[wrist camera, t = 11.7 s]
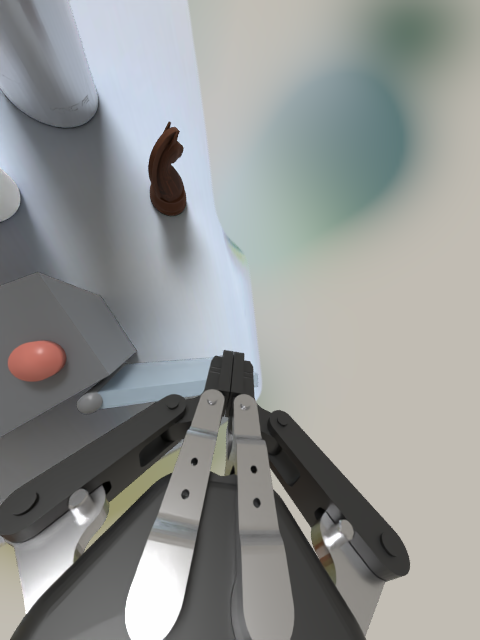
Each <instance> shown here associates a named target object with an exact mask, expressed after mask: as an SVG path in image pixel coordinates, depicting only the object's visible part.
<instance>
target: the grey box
mask: <svg viewBox="0 0 480 640" xmlns="http://www.w3.org/2000/svg"><path fill="white" fill-rule="evenodd" d="M135 352H136V349H135V348H134V346H133V345H132V343H131V341H130V340H129V338H128V337H127V335H126V334H125V332H124V331H123V329H122V328H121V326H120V325H119V323H118V322H117V320H116V319H115V317H114V316H113V314H112V312H111V311H110V309H109V308H108V306H107V305H106V303H105V302H104V300H103V299H102V297H101V296H99V295H97V294H94V293H92V292H89V291H86V290H84V289H81V288H79V287H76V286H73V285H71V284H68V283H65V282H63V281H60V280H58V279H55V278H52V277H50V276H47V275H45V274H42V273H39V272H36V273H33V274H30V275H28V276H25V277H22V278H20V279H17V280H14V281H11V282H9V283H6V284H3V285H1V286H0V437H2V436H3V435H5V434H7V433H9V432H11V431H12V430H14V429H16V428H18V427H19V426H21V425H23V424H25V423H26V422H28V421H30V420H32V419H33V418H35V417H37V416H39V415H40V414H42V413H44V412H46V411H47V410H49V409H51V408H53V407H54V406H56V405H58V404H60V403H61V402H63V401H65V400H67V399H69V398H70V397H72V396H74V395H76V394H77V393H79V392H81V391H83V390H84V389H86V388H88V387H90V386H91V385H93V384H95V383H97V382H98V381H100V380H102V379H104V378H105V377H107V376H109V375H110V374H111V373H113V372H114V371H115V370H116V369H117V368H118V367H119V366H121V365H122V364H123V363H124V362H125V361H126V360H127V359H128V358H130V357H131V356H132V355H133V354H134V353H135Z"/></svg>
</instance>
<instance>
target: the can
mask: <svg viewBox="0 0 480 640" xmlns="http://www.w3.org/2000/svg"><path fill="white" fill-rule="evenodd" d="M19 205H20V192H19V189H18V187H17V185H16V183H15V182H14V181H13V180H12V179H11V177H10V176H8V175H7V174H6V173H5V172H4V171H3V170H2V169H1V168H0V222H1V221H4V220H6V219H8V218H10V217H11V216H12V215H13V214H14V213H15V212H16V211H17V209H18V208H19Z"/></svg>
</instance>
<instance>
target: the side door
mask: <svg viewBox="0 0 480 640" xmlns="http://www.w3.org/2000/svg"><path fill="white" fill-rule="evenodd" d="M220 357H223V356H220ZM213 358H214V357H213ZM213 358H200V359H187V360H174V361H161V362H148V363H135V364H126V363H123V364H122V365H121V366H119V367H118V368H117V369H116V370H115V371H114V372H113V373H111V374H110V375H109V376H107V377H105V378H104V379H102V380H101V381H100V382H98V383H97V384H96V385H95V386H94V387H92V388H91V389H90V390H89V391H88V392H87V393H85V394H84V395H83V396H82V397H81V398H80V399H79V400H78V402H77V409H78V410H79V411H80V412H81V413H83V414H91V413H94V412H96V411H97V410H99V409H106V408H113V407H120V406H127V405H134V404H141V403H148V402H155V401H159V400H161V399H162V398H164V397H166V396H168V395H171V394H178V395H181V396H182V397H190V396H197V395H201V394H202V393H203V391H204V389H205V384H206V380H207V376H208V372H209V368H210V364H211V360H212V359H213ZM253 375H254V378H253V379H254V387H258V374H257V373H255V372H254V371H253Z"/></svg>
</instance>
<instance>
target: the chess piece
mask: <svg viewBox="0 0 480 640" xmlns="http://www.w3.org/2000/svg"><path fill="white" fill-rule="evenodd" d="M170 125H171V122H168V124H167V126H166V128H165V130H164V132H163V134H162V135H161V136H160V137H159V139H158V140H157V142H156V144H155V145H154V147H153V149H152V152H151V155H150V159H149V165H148V172H149V178H150V181H151V186H150V199H151V202H152V204H153V205H154V207H155V208H156V209H157V210H158V211H160V212H161V213H163V214H165V215H169V216H175V215H178V214H180V213H181V212H183V210H184V209H185V206H186V193H185V190H184V186H183V182H182V179H181V177H180V176H179V174H178V173H177V171H176V170H175V169H174V167H173V166H172V165H171V163H174V162H175V161H176V160H177V159H178V158H180V157H181V155H182V154H181V153H183V146H182V145H181V144H180V143H179V142H178V141H177V138H178V134H179V132H180V131H179V130H178V129H177V128H176V127H172V128H170Z"/></svg>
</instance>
